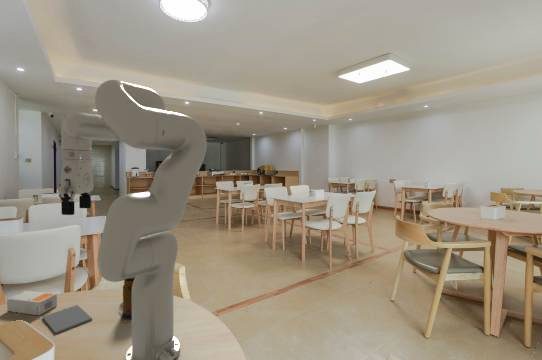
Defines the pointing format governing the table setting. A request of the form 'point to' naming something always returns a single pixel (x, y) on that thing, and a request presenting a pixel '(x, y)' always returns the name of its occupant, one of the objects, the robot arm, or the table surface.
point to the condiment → (127, 300)
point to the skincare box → (32, 302)
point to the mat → (66, 319)
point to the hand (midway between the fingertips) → (77, 211)
